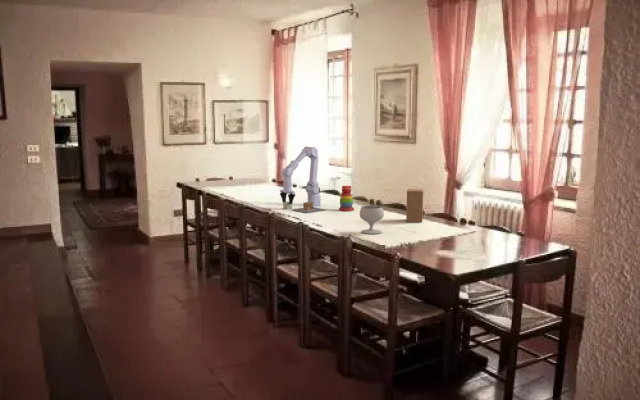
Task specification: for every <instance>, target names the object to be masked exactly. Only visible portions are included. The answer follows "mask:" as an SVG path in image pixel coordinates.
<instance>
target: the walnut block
mask: <svg viewBox="0 0 640 400" xmlns="http://www.w3.org/2000/svg"><path fill="white" fill-rule="evenodd" d="M302 205H303V206H302V208H303V210H313V207H314V206H313V203H312V202H308V201H307V202H306V201H305V202H303V204H302Z"/></svg>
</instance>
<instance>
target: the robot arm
mask: <svg viewBox="0 0 640 400" xmlns="http://www.w3.org/2000/svg"><path fill="white" fill-rule="evenodd" d="M318 154H319V150H318V148H316V147H315V146H307V145H306V146H304V147H303V148H302V149H301V152H300V153H299V154H298V155H297V157H296V158H294V159H293V160H291V161H290V162H289V164H288V165H286V166H285V167H284V168H283V169H282V170H281V174H282V178H283V179H282V180H283V189H280V190H279V192H280V193H279V195H280V197H281V200H282V203H283V202H287V198H288V202H289V204H292V205H293V202H294V198H295V197H296V192H295V191H293V190H292V176H293V174H294V172H295V170H296V169H297V168H298V167H299V163H301V162H302V160H304V159H305V158H306V157H308V158H309V160H310V168H309V179H308V181H307V183H306V186H305V192H306V194H307V202H312V203H313V207H317V206H322V203H321V199H322V198H321V194H320V193H319V192H320V185H319V184H320V183H319V182H318V167H319V155H318Z"/></svg>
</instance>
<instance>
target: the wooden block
mask: <svg viewBox="0 0 640 400" xmlns="http://www.w3.org/2000/svg"><path fill="white" fill-rule="evenodd" d="M405 213H406V219H405V222H406V223H420V222H422V223H423V221H424V220H423V219H424V217H423V215H424V189H421V188H407V190H406V212H405Z"/></svg>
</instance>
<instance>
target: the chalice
mask: <svg viewBox="0 0 640 400" xmlns="http://www.w3.org/2000/svg"><path fill="white" fill-rule="evenodd" d="M384 216H385V214H384V209H383V207H382V206H380V205H374V204H373V205H372V204H371V205H370V204H369V205H362V206H361V207H360V210H359V218H360V219H362V220H363V221H365V222H366V223H368V225H369V227H368V228H367V229H362V230H361V231H360V232H361V233H362V234H368V235H377V234H381V233H382V230H380V229H375V228H374V225H375V224H376V223H377V222H379V221H381V220H382V219H383V218H384Z"/></svg>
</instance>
